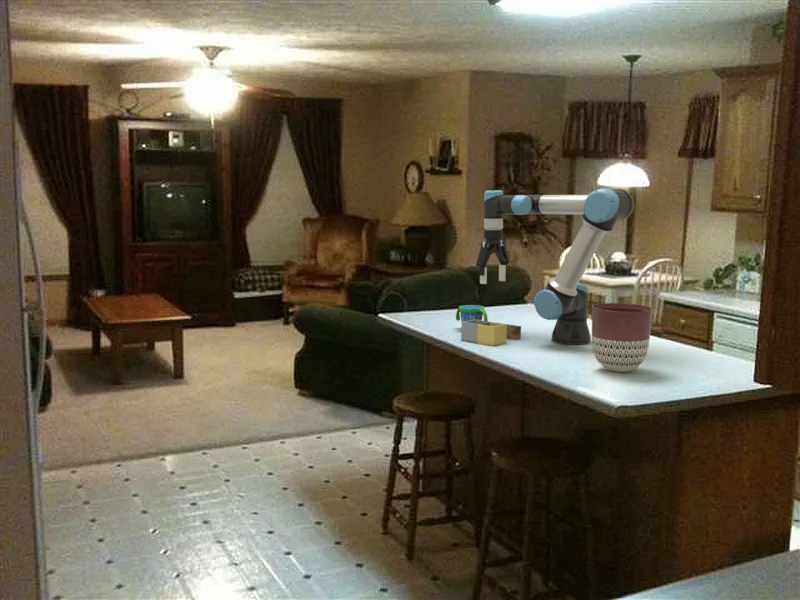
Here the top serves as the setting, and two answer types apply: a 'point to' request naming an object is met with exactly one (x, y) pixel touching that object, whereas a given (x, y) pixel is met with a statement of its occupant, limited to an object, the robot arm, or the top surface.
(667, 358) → the top surface
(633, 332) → the planter
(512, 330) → the rack
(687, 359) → the top surface
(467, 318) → the snack cup
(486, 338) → the tube block
